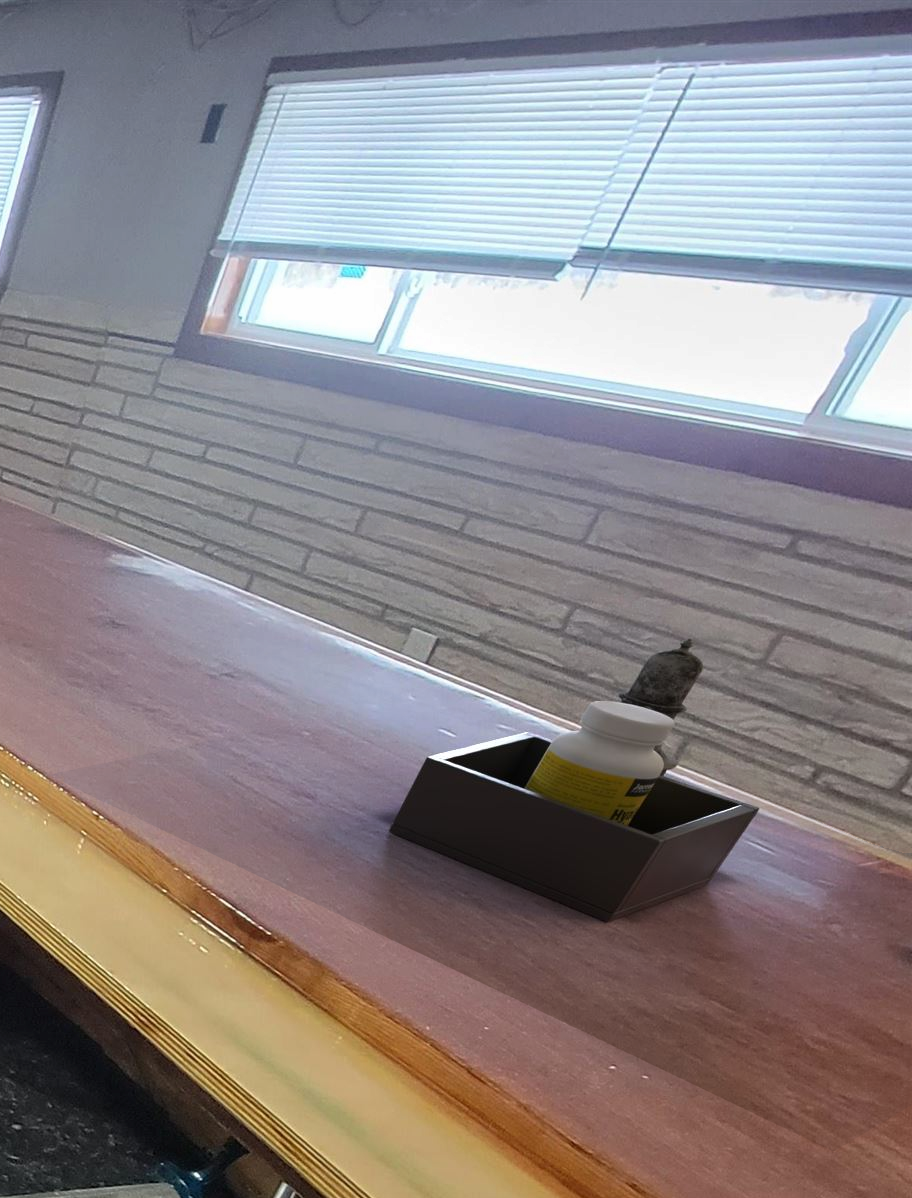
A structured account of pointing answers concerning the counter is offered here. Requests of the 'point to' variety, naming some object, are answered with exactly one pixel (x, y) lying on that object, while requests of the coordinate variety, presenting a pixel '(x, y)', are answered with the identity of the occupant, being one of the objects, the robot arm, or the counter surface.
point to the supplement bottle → (605, 761)
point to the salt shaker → (665, 686)
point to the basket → (567, 830)
